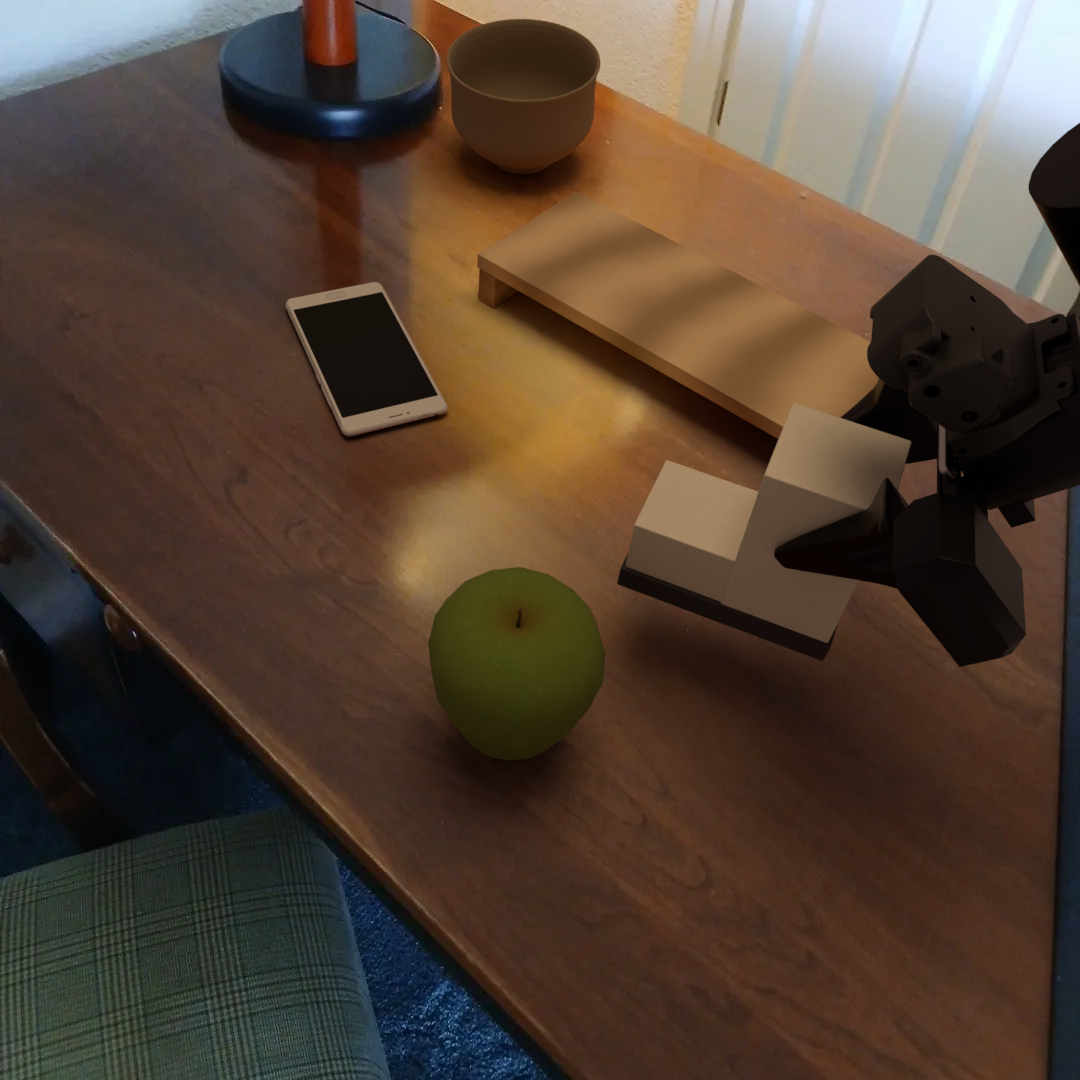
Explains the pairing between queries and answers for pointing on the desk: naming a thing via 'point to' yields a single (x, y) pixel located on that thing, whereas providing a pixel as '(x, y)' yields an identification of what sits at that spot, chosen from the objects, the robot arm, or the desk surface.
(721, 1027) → the desk surface
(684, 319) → the platform
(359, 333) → the smartphone
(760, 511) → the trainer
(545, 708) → the apple
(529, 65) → the bowl
